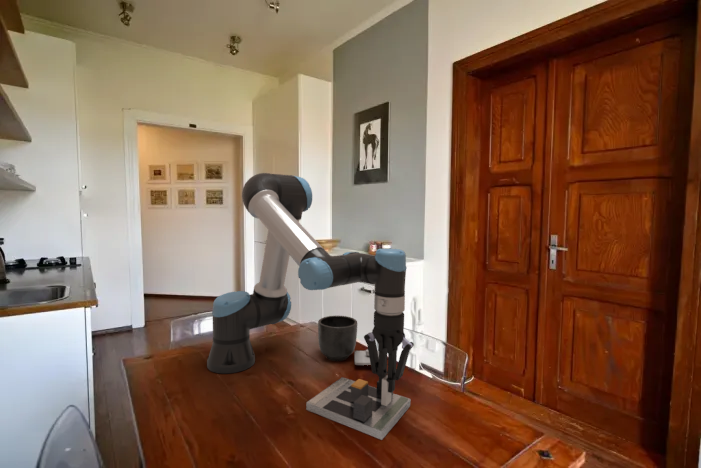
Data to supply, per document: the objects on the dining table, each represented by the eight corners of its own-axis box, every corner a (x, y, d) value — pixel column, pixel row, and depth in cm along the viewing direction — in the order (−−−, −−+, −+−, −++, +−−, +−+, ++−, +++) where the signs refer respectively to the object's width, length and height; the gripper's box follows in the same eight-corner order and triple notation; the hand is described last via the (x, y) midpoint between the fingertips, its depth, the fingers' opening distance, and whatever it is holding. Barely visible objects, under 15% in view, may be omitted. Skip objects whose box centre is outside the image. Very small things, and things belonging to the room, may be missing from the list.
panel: (306, 409, 93) (306, 386, 93) (341, 383, 107) (342, 363, 107) (381, 440, 82) (382, 413, 81) (410, 406, 96) (411, 383, 95)
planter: (333, 346, 137) (334, 313, 136) (364, 355, 129) (365, 320, 128) (309, 358, 125) (309, 322, 124) (340, 369, 117) (341, 330, 116)
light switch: (384, 371, 117) (385, 356, 116) (354, 370, 117) (354, 355, 116) (381, 358, 126) (382, 344, 126) (354, 358, 126) (354, 344, 126)
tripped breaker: (350, 401, 93) (350, 384, 93) (358, 394, 97) (358, 378, 96) (360, 404, 92) (360, 387, 92) (368, 397, 95) (368, 381, 95)
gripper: (358, 310, 89) (356, 401, 90) (407, 319, 82) (404, 418, 84) (373, 303, 95) (370, 389, 97) (419, 312, 88) (416, 404, 90)
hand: (386, 402), depth 90 cm, fingers closed
